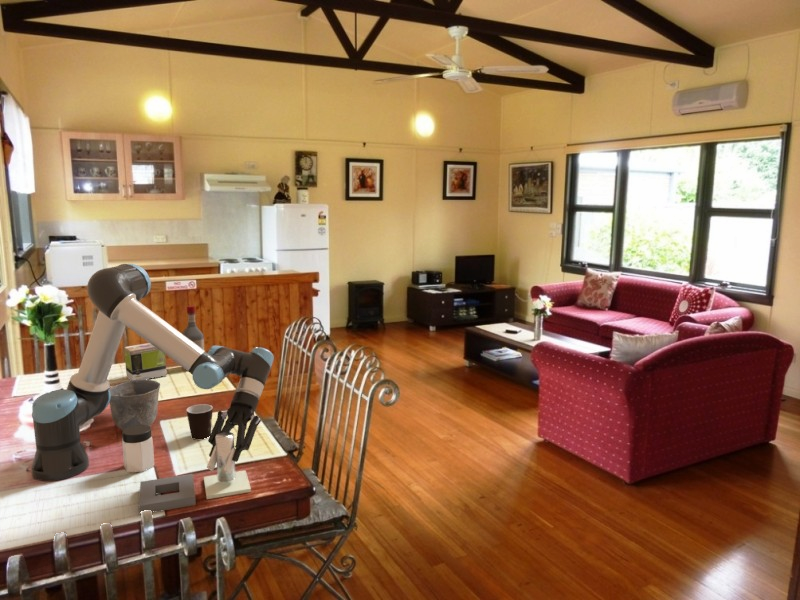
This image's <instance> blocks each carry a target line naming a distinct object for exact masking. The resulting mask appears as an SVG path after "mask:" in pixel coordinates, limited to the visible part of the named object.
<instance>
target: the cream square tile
mask: <svg viewBox="0 0 800 600" xmlns="http://www.w3.org/2000/svg"><path fill="white" fill-rule="evenodd" d="M235 476H236V477H235V479H234V480H232V481H229V482H220V481H218V479H217V474H212V475H207V476H203V482H204V488H205V489H204V491H205V496H206V500H211V499H216V498H222V497H229V496H235V495H241V494H246V493H251V492H252V488H251V485H250V481H249V477H248V474H247V471H246V470H244V469H243V470H239V471H235Z"/></svg>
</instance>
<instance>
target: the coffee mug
mask: <svg viewBox="0 0 800 600" xmlns="http://www.w3.org/2000/svg"><path fill="white" fill-rule="evenodd" d="M213 408H214V407H213V405H212V404H211V405H210V404H205V403H204V404H194V405H191V406H189V407H187V408H186V415H187V421H188V425H189V431H190V436H191V437H192V438H195V439H202V440H205V439H204V438H206V439H208V438H207V437H209V436H210V435H211V432H212V423H213V422H212V421H213V411H214V409H213ZM192 438H191V439H192ZM195 439H194V440H195Z"/></svg>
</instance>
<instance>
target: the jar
mask: <svg viewBox="0 0 800 600" xmlns="http://www.w3.org/2000/svg"><path fill="white" fill-rule="evenodd" d="M121 435H122V438H121V443H122V444H121V445H122V454H123V455H122V457H123V458H122V459H123V468H124V469H125V472H127V473H142V471H143V472H144V470H145V471H147V470H149V469H151V468H152V467H154V466H155V456H154V454H155V453H154V444H153V443H154V442H153V441H154V440H153V437H152V427H151V425H150V426H147V425H136V426H131V427H128V428H126V429H124V430H122V431H121ZM148 468H149V469H148ZM146 469H147V470H146Z"/></svg>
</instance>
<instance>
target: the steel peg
mask: <svg viewBox="0 0 800 600" xmlns="http://www.w3.org/2000/svg"><path fill="white" fill-rule="evenodd" d="M215 437H216V458H217V462H216V475H217V479H218V481H220V482H229V481H232V480H234V479H235V477H236V476H235V472H236V462H235V463H234V466H233V468H232V471H231V474H229V473H227V472H226V471H225V470H224V469H225V466H226V464H227V461H228V458H229V456H230V453H231V450H232V448H235V435H234V433H233V432H231V431H230V432H222V433H219V434H217V435H216V436H215Z"/></svg>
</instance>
